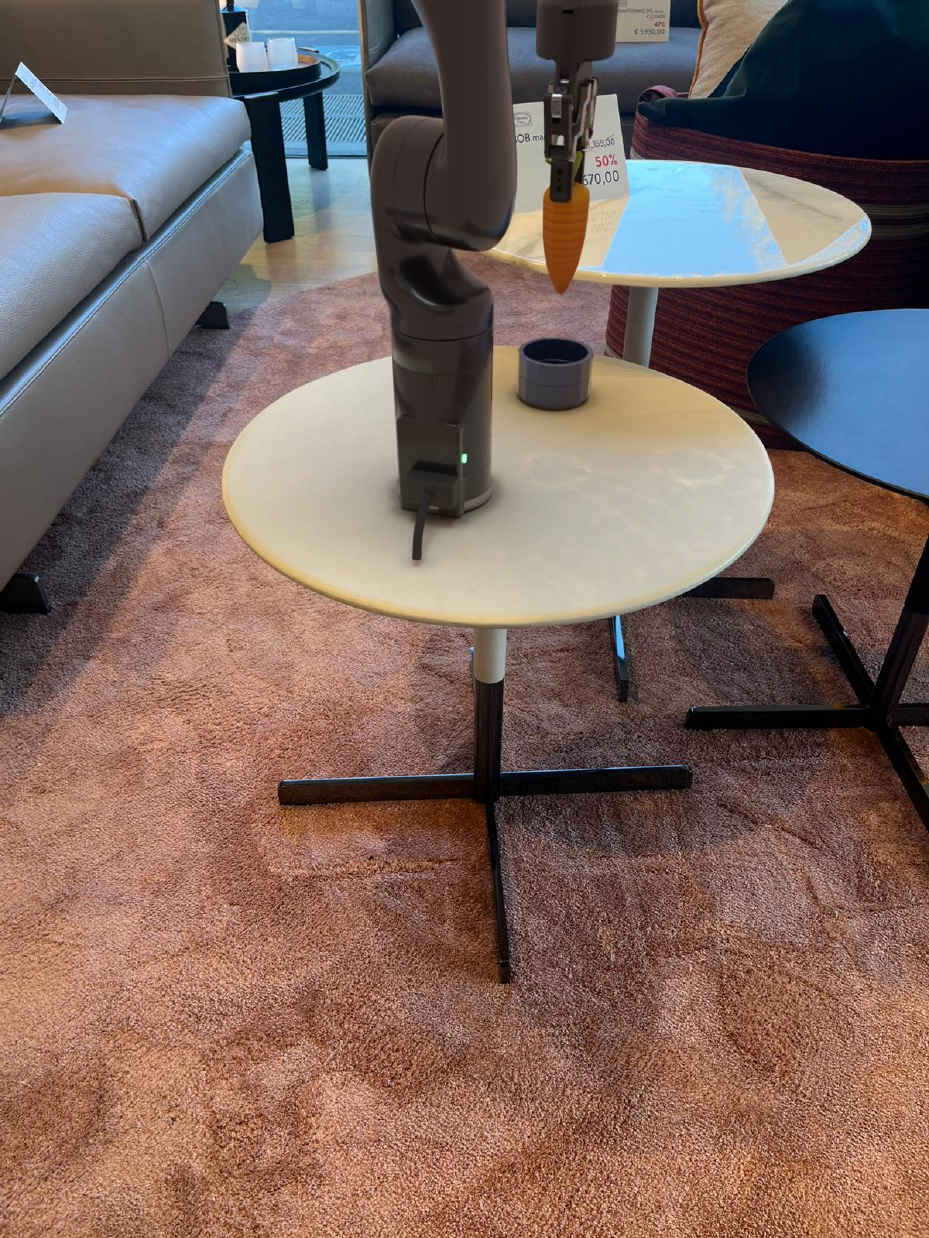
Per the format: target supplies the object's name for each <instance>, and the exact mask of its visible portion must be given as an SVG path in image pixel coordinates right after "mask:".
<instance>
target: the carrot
mask: <svg viewBox="0 0 929 1238" xmlns="http://www.w3.org/2000/svg"><path fill="white" fill-rule="evenodd" d="M582 156H583V154H582V153H581V152H580V151H577V153H576V158H575V160H574V174H573V190H572V199H571V200H570V201H569V202H568V203H559V202H552V201H551V200H550V198H549V194H550V185H548V187H547V188H546V189H545V191H544V193H543V197H542V199H543V200H542V243H543V250H544V259H545V266H546V269H547V273H548V276H549V279H550V281H551V284H552V287H553V288H554V291H555V292H556V293H557V295H559V296H562V295H563V294H564V293H566V292H567V290H568V288H569V286H570V284H571V282H572V280H573V278H574V276H575V274H576V271H577V269H578V267H579V263H580V260H581V256H582V253H583V248H584V245H585V240H586V236H587V227H588V220H589V210H590V201H591V194H590V193H591V192H590V190H589V188H588V187H587V186H586V185H584V184H583V185H582V184H579V183H577V182H574V177H575V175H576V173H577V171H578V168H579V166H580V163H581V160H582ZM544 161H545V163H546V164H548V165H550V166H551V162H552V161H549V158H544Z"/></svg>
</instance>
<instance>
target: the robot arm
mask: <svg viewBox="0 0 929 1238" xmlns="http://www.w3.org/2000/svg"><path fill="white" fill-rule="evenodd" d="M410 1H411V3H412V5H413V7H414V9H415V11H416V13H417V15H418V18H419V20H420V23H421V25H422V27H423V29H424V31H425V33H426V36H427V39H428V42H429V44H430V47H431V50H432V53H433V57H434V61H435V66H436V71H437V76H438V83H439V91H440V99H441V109H442V118H438V117H431V116H423V115H404V116H400V117H398V118H396V119H394V120H392V121H391V122H390V123H388V125H387V126H386V127H385V128H384V130H383V131H382V132H381V134H380V136H379V138H378V140H377V142H376V145H375V147H374V150H373V151H374V152H373V156H372V161H371V167H370V179H369V193H370V197H369V198H370V210H371V219H372V228H373V236H374V246H375V255H376V256H375V257H376V263H377V265H376V266H377V273H378V281H379V285H380V286H379V287H380V291H381V293H382V296H383V299H384V301H385V303H386V305H387V308H388V312H389V329H390V346H391V365H392V366H391V367H392V385H393V402H394V404H393V405H394V406H393V407H394V423H395V439H396V440H395V442H396V458H397V473H398V474H397V475H398V476H397V477H398V478H397V492H398V496H399V501H400V504H399V505H400V508H402V509H407V510H413V511H417V514H416V518H415V522H414V528H413V536H412V551H411V560H413V561H421V560H422V553H423V538H424V537H423V536H424V529H425V524H426V519H427V516H428V513H431V514H437V515H443V516H448V517H454V518H461V517H462V515H463V514H464V513H465V512H467V511H470V510H473V509H476V508H478V507H480V506H482V505H483V504H484V503H486V502H487V501H488V499H490V497H491V495H492V492H493V476H492V455H493V454H492V449H493V448H492V445H493V444H492V442H493V441H492V439H493V438H492V437H493V383H494V382H493V381H494V380H493V379H494V378H493V375H494V374H493V373H494V328H495V327H494V323H495V321H494V320H495V300H494V294H493V291H492V289H491V288H490V286H489V285H488V284H487V282H485V281H484V280H483V279H481V278H480V277H479V276H478V275H477V274H475V273H474V272H473V271H471V270H470V269H469V267H468V266H466V265H465V263H464V262H463V261H462V260H461V259H460V257H458V254H457V253H456V252H455V250H458V251H463V252H471V253H483V252H489V251H490V250H492V249H493V248H495V247H497V245H498V244H500V242H501V241H502V240H503V239H504V237H505V236H506V234H507V231H508V230H509V227H510V226H511V222H512V218H513V216H514V215H513V214H514V212H515V207H516V201H517V200H516V199H517V191H518V151H517V137H516V124H515V113H514V102H513V91H512V79H511V67H510V58H509V43H508V41H509V40H508V21H507V19H508V18H507V17H508V16H507V0H410ZM536 2H537V3H536V28H535V54H536V55H537V57H538V58H540V59H542V60H546V61H553V62H554V63H555V68H554V75H553V80H552V81H551V80H550V82H549V83H548V89H547V90H548V91H547V92H545V93H544V95H543V96H542V97H543V98H542V104H543V145H544V147H543V155H544V159H546V158H549V161H552V162H551V165H550V176H549V186H550V194H549V198H550V200H551V201H552V202H559V203H568V202H569V201H570V200H571V199H572V190H573V174H574V160H575V158H576V153H577V151H580V152H581V153H582V154H583V156H582V160H581V163H580V166H579V168H578V171H577V173H576V175H575V177H574V182H577V183H579V184H582V185H584V180H585V179H584V178H585V165H586V151H587V150H588V147H589V146H590V140H591V139H592V137H593V136H594V123H595V115H596V106H597V98H598V91H599V90H598V89H599V84H600V81H601V80H600V74H599V72H598V73H596V72H593V63H594V62H601V61H606V60H608V59H609V60H610V59H611V58H612V57H613V56H614V54H615V51H616V42H617V41H616V40H617V28H618V27H617V26H618V16H619V4H620V0H537V1H536ZM559 137H562V144H558V141H559V140H558V139H559Z"/></svg>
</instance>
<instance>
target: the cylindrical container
mask: <svg viewBox="0 0 929 1238" xmlns="http://www.w3.org/2000/svg"><path fill="white" fill-rule="evenodd" d="M593 363H594V351H593V349H592V347H591V346H590V345H588V344H587V343H585V342H584V341H580V340H577V339H574V338H570V337H563V336H561V337H560V336H543V337H537V338H532V339H530V340H528V341H525V342H523V343H521V344H520V346H519V347H518V349H517V361H516V393H517V395H518V396H519V397H520V399H521V400H522V401H523V402H524V403H525V404H526V405H528V406H531V407H534V408H538V409H543V410H552V411H553V410H554V411H557V410H559V411H560V410H567V409H572V408H576V407H578V406H580V405H581V404H583V403H584V402H585V400H586V399H588V397H589V395H590V394H591V387H592V376H593V375H592V374H593Z"/></svg>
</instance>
